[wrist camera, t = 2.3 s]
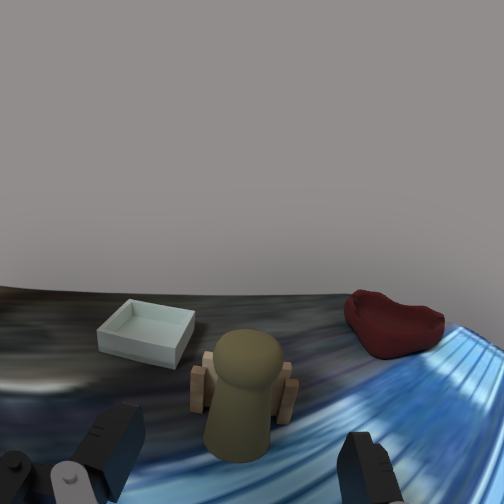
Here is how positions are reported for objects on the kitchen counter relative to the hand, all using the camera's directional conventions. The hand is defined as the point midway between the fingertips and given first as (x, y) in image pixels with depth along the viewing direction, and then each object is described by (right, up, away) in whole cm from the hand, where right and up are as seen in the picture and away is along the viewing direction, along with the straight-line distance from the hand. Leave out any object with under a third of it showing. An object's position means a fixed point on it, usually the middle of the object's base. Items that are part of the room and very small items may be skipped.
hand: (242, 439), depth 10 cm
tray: (-13, -4, +28) cm, 31 cm away
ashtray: (+22, -7, +36) cm, 43 cm away
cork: (-1, -10, +14) cm, 17 cm away
